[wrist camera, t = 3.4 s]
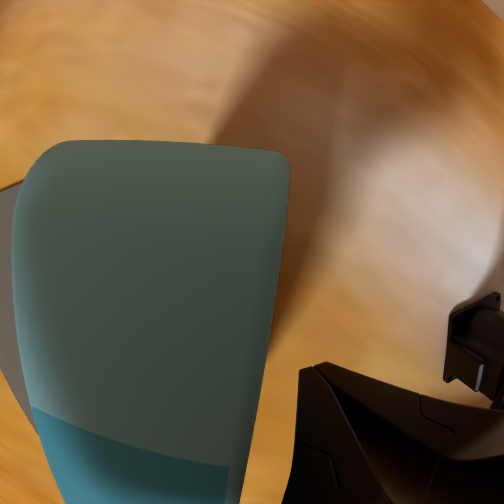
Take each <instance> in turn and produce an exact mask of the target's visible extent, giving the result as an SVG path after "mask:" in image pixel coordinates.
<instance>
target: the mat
mask: <svg viewBox="0 0 504 504" xmlns="http://www.w3.org/2000/svg"><path fill="white" fill-rule="evenodd" d="M21 185H22V183H20V184H18V185H16V186H13V187H11V188H9V189H6V190H4V191H2V192H0V368H1V370H2V373H3V375H4V377H5V379H6V381H7V382H8V384H9V386H10V388H11V390H12V392H13V394H14V396H15V397H16V399H17V401H18V403H19V404H20V406H21V408H22V410H23V411H24V413H25V415H26V416H27V418H28V420H29V421H30V423H31V424H32V426H33V428H34V429H35V431H36V432H37V434H38V431H37V427H36V424H35V421H34V417H33V413H32V410H31V406H30V402H29V398H28V394H27V389H26V385H25V380H24V375H23V370H22V365H21V359H20V353H19V346H18V340H17V332H16V324H15V314H14V303H13V287H12V224H13V214H14V209H15V204H16V200H17V197H18V193H19V190H20V188H21ZM38 435H39V434H38Z"/></svg>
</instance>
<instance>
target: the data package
mask: <svg viewBox="0 0 504 504" xmlns="http://www.w3.org/2000/svg"><path fill="white" fill-rule="evenodd" d="M289 185H290V166H289V162H288V160H287V159H286V157H285V156H284V155H283V154H281V153H279V152H277V151H271V150H263V149H254V148H245V147H236V146H225V145H214V144H201V143H187V142H169V141H143V140H76V141H65V142H61V143H59V144H57V145H55V146H53V147H51V148H50V149H48V150H47V151H46V152H44V153H43V154H42V155H41V156H40V157H39V158H38V159H37V160H36V162H35V163H34V164H33V166H32V167H31V168H30V170H29V172H28V173H27V175H26V177H25V179H24V181H23V183H22V185H21V188H20V190H19V193H18V197H17V200H16V204H15V209H14V214H13V224H12V287H13V303H14V314H15V324H16V332H17V340H18V346H19V353H20V359H21V365H22V370H23V375H24V380H25V385H26V389H27V394H28V398H29V402H30V406H31V410H32V413H33V417H34V421H35V424H36V427H37V431H38V434H39V437H40V440H41V443H42V446H43V449H44V452H45V455H46V458H47V461H48V463H49V466H50V469H51V471H52V474H53V476H54V479H55V481H56V483H57V486H58V488H59V490H60V493H61V495H62V497H63V499H64V502H65V504H239V502H240V497H241V492H242V488H243V483H244V478H245V473H246V467H247V462H248V457H249V452H250V447H251V441H252V436H253V431H254V425H255V420H256V414H257V409H258V403H259V397H260V392H261V386H262V380H263V374H264V368H265V362H266V356H267V350H268V344H269V338H270V332H271V326H272V319H273V313H274V306H275V300H276V293H277V287H278V280H279V273H280V266H281V259H282V252H283V244H284V236H285V228H286V219H287V209H288V198H289Z"/></svg>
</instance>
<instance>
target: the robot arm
mask: <svg viewBox="0 0 504 504" xmlns="http://www.w3.org/2000/svg"><path fill="white" fill-rule="evenodd" d="M500 301H501V294H500V293H498V292H494V293H492V294H490V295H488V296H486V297H484V298H483V299H481V300H479V301H477V302H475V303H473V304H471V305H469V306H467V307H465V308H463V309H461V310H459V311H457V312H454V313H453V314H452V315H451V316H450V318H449V324H448V337H447V349H446V358H445V367H444V374H443V381H444V382H446V383H450V382H451V381H453V380H455V379H457V378H458V379H459V380H460V381H461V382H463V383H464V384H465V385H467V386H468V387H469V388H471V389H472V390H473V391H475V392H478V391H480V392H481V393H482V394H484V395H485V396H486V397H488V398H489V399H490V400H492V401H493V402H492V404H491V406H490V408H489V409H487V408H480V407H474V406H468V405H462V404H457V403H452V402H448V401H444V400H440V399H436V398H433V397H429V396H426V395H423V394H421V395H420V394H419V393H416V392H413V391H410V390H407V389H403V388H400V387H397V386H394V385H391V384H388V383H385V382H382V381H379V380H377V379H374V378H371V377H368V376H365V375H362V374H359V373H357V372H354V371H351V370H348V369H346V368H343V367H340V366H337V365H335V364H332V363H329V362H323V363H320V364H317V365H314V367H313V366H310V367H307V368H303V369H300V370H299V379H298V397H297V413H296V427H295V441H294V444H295V445H294V451H293V460H292V467H291V472H290V476H289V480H288V484H287V487H286V491H285V494H284V497H283V500H282V503H281V504H504V312H503V311H500Z"/></svg>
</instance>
